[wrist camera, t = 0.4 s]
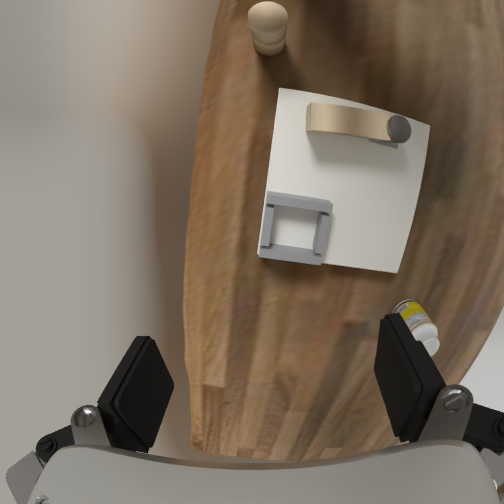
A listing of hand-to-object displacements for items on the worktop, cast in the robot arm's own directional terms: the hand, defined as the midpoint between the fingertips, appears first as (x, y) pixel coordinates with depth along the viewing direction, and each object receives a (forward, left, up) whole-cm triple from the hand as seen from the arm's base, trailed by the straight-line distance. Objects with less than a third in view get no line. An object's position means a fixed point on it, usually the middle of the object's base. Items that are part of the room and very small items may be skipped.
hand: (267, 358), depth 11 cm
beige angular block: (-12, +8, -25) cm, 29 cm away
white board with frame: (-4, +9, -28) cm, 30 cm away
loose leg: (-22, -3, -29) cm, 36 cm away
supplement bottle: (+14, +25, -29) cm, 41 cm away
